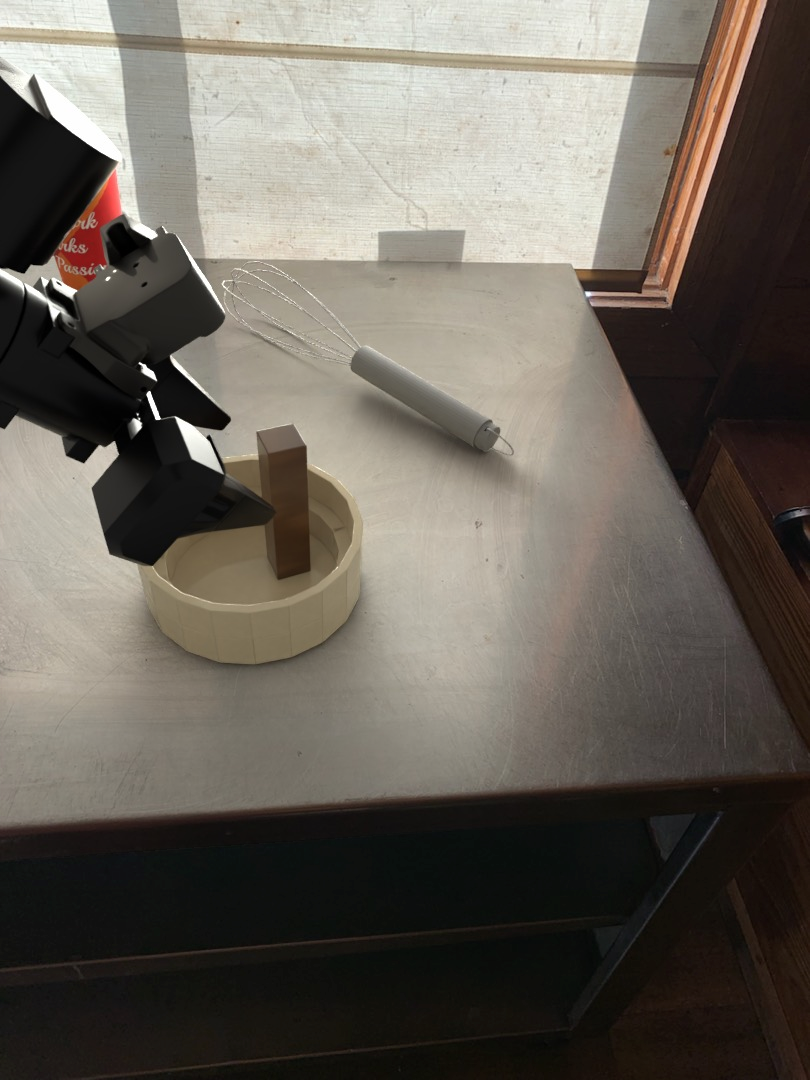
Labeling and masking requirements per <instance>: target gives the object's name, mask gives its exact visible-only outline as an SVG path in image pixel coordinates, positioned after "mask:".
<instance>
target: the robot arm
mask: <svg viewBox="0 0 810 1080" xmlns="http://www.w3.org/2000/svg"><path fill="white" fill-rule="evenodd" d="M105 135H106V134H105V133H104V132H103V131H102V130H101V129H100V128H99V127H98V126H97V125H96V124H95V123H94V122H93V121H91V119H90V118H88V117H87V115H85V114H84V113H83V112H82V111H81V110H80V109H78V108H77V107H76V106H75V105H74V104H73V103H72V102H71V101H69V100H68V98H66V97H65V96H64V95H62V94H61V93H60V92H59V91H58V90H56V89H55V88H54V87H53V86H52V85H50V84H49V83H48V82H46V81H45V80H44V79H42V77H40V76H39V75H38V74H36V73H33V74H32V75H29V74H27V73H26V72H25V71H23V69H21V68H19V67H18V66H17V65H14V64H13V63H11V62H10V61H9V60H7V59H5V58H3V57H1V56H0V429H2V430H6V428H7V427H8V426H9V425H10V423H11V422H12V421H13V420H14V419H15V417H18V418H20V419H22V420H25V421H27V422H28V423H31V424H33V425H35V426H38V427H40V428H42V429H45V430H47V431H49V432H50V433H53V434H55V435H58V436H60V437H61V442H62V446H63V450H64V454H65V457H67V458H70V459H72V460H74V461H77V462H78V463H81V464H83V465H84V464H85V463H86V462H87V461H88V460H89V458H90V457H91V456H92V455H93V453H95V451H96V450H97V449H98V448H99V446H100V447H103V448H106V447H109V446H110V445H111V444H115V447H116V450H117V453H118V455H117V456H116V458H115V459H113V461H112V462H111V463H110V465H109V466H108V467H107V468H106V469H105V471H104V472H103V473H102V475H101V476H100V477H98V479H97V480H96V482H95V483H94V484H93V485H92V486H91V491H92V496H93V499H94V504H95V508H96V511H97V515H98V518H99V523H100V526H101V530H102V534H103V538H104V541H105V545H106V548H107V551H108V554H109V555H110V556H113V557H116V558H118V559H122V560H125V561H128V562H130V563H133V564H136V565H137V564H139V565H142V566H153V565H154V564H155V563H156V562H157V561H158V560H159V559H160V558H161V556H162V555H163V554H164V553H165V552H166V551H167V550H168V549H169V548H170V546H171V545H172V544H173V543H174V542H175V541H176V540H177V539H179V538H183V537H187V536H191V535H196V534H201V533H207V532H214V531H222V530H230V529H238V528H246V527H254V526H262V525H266V524H267V523H268V522H269V521H270V520H271V519H272V518H273V517H274V516H275V514H276V511H275V509H274V507H273V506H271V505H270V504H269V503H268V502H266V501H265V500H264V499H262V498H261V497H260V496H259V495H257V494H256V493H254V492H253V491H251V490H250V489H248V488H247V487H246V486H244V485H243V484H241V483H240V482H238V481H237V480H235V479H234V478H233V477H231V476H230V475H228V474H227V473H226V469H225V465H224V463H223V460H222V458H223V457H222V456H221V453H220V452H219V450H218V447H217V445H216V443H215V440H214V437H213V436H212V435H211V434H210V433H209V434H207V436H206V437H205V436H204V435H203V434H202V432H200V431H199V429H197V428H201V429H207V430H213V431H220V432H221V431H223V430H225V429H226V427H227V426H229V424H230V423H231V422H232V418H231V415H230V414H229V413H228V411H226V410H225V408H224V407H222V406H221V405H220V404H219V402H218V401H216V400H215V399H214V398H213V396H211V394H209V392H208V391H207V390H205V389H204V388H203V387H202V385H201V384H199V382H197V380H195V378H193V376H191V374H189V372H188V371H187V370H186V369H185V368H184V367H183V366H182V365H181V364H180V363H179V362H178V361H177V360H176V359H175V358H174V357H173V356H172V355H173V354H175V353H176V352H178V351H180V350H181V349H182V348H184V347H186V346H188V345H189V344H191V343H192V342H194V341H195V340H197V339H198V338H201V337H203V338H206V337H208V336H211V335H212V334H214V333H216V332H217V330H219V329H220V328H221V327H222V325H224V322H225V320H226V316H227V315H226V311H225V309H224V307H223V306H222V304H221V302H220V301H219V299H218V296H217V295H216V293H215V291H214V290H213V287H212V286H211V284H210V283H209V281H208V280H207V278H206V276H205V275H204V274H203V272H202V271H201V269H200V267H199V266H198V265H197V263H196V261H195V260H194V259H193V257H192V255H191V254H190V253H189V251H188V250H187V248H186V246H184V243H183V242H182V240H181V239H180V238H179V237H178V235H177V234H176V233H175V232H168V231H167V229H165V227H164V226H163V225H160V226H159V227H157V228H156V229H155V231H154V230H153V229H151V228H150V227H148V226H146V225H144V224H143V223H141V222H139V221H138V220H136V219H134V218H132V217H130V216H128V215H127V214H125V213H122V214H121V215H120V216H118V217H116V218H115V219H113V220H112V221H110V222H108V223H107V224H105V225H104V226H102V227H101V228H100V233H101V239H102V244H103V250H104V255H105V259H106V262H107V268H105V269H104V268H103V267H102V266H101V265H98V266H96V267H95V268H94V271H95V274H96V277H95V278H94V279H93V280H92V281H90V282H89V283H88V284H86V285H85V286H83V287H82V288H81V289H79V290H78V291H77V290H75V289H72V288H70V287H68V286H67V285H65V284H63V281H60V280H58V279H56V278H55V277H50V279H49V280H47V279H45V278H44V277H42V276H39V278H37V280H36V282H35V283H34V285H33V286H31V285H29V284H28V283H26V282H24V281H21V280H20V279H18V278H17V277H15V276H13V275H11V274H10V273H9V272H7V271H4V270H11V271H12V272H16V273H19V274H22V275H25V274H26V273H27V272H28V270H29V268H30V267H31V266H36V267H37V266H38V267H43V266H45V265H47V264H48V263H49V262H50V260H51V259H52V258H53V257H54V253H55V252H56V251H57V249H58V248H59V246H60V245H61V244H62V242H63V241H64V240H65V238H66V237H67V235H68V234H69V233H70V231H71V230H72V228H73V227H74V226H75V224H76V223H77V222H78V220H79V219H80V217H81V216H82V215H83V213H84V212H85V211H86V209H87V208H88V206H89V205H90V204H91V202H92V201H93V200H94V198H95V197H96V195H97V194H98V193H99V191H100V190H101V188H102V187H103V186H104V184H105V183H106V182H107V180H108V179H109V177H110V176H111V175H112V173H113V172H114V171H115V169H116V170H117V168H118V166H119V165H120V164H121V163H122V161H123V155H122V153H121V152H120V151H119V149H118V148H117V147H116V146H115V144H114V143H113V142H112V141H111V140H110V138H109V137H108V136H107V135H106V136H107V137H108V138H107V137H106V136H105Z"/></svg>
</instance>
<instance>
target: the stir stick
mask: <svg viewBox="0 0 810 1080" xmlns="http://www.w3.org/2000/svg"><path fill="white" fill-rule="evenodd" d="M255 434H256V435H255V436H256V445H257V455H258V458H259V469H260V480H261V492H262V499H264V500H265V501H266V502H268V503H269V504H270V505H271V506H273V507H274V509H275V511H276V514H275V516H274V517H273V518H272V519H271V520H270V521H269V522H268V523H267V524H266V525H264V526H265V537H266V548H267V557H268V560H269V562H270V564H271V566H272V569H273V571H274V573H275V575H276V578H277V579H278V580H280V579H284V578H288V577H291V576H295V575H298V574H302V573H305V572H309V571H311V564H310V533H309V502H308V471H307V463H308V446H307V444H306V442H305V439H304V438H303V437H302V435H301V433H300V432H299V430H298V428H297V426H296V425H295V423H294V422H293V423H287V424H283V425H279V426H274V427H269V428H263V429H259V430H256V433H255Z"/></svg>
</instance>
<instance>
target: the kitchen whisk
mask: <svg viewBox="0 0 810 1080" xmlns="http://www.w3.org/2000/svg"><path fill="white" fill-rule="evenodd" d="M249 264H260V265H264V266H267V267H270V268H272V269H274V270H276V271H277V272H279V273H277V272H275V271H272V270H264V269H255V270H249V271H247V270H244V269H242V268H244V267H246V266H247V265H249ZM235 271H237V272H236V274H235V276H234V272H235ZM239 272H242V274H240V275H239ZM254 272H263V273H271V274H274V275H276V276H279V277H281V278H284V279H286V280H288V281H289V282H291V283H293V284H295V285H296V286H298V287H299V288H300V289H302V290H303V291H304V292H305V293H306V294H307V295H309V296H310V297H311V299H313V300H314V301H315V302H316V303H317V304H318V305H319V306H320V307H321V308H322V309H323V310H324V311H325V312H326V313H327V314H328V315H329V316H330V317H331V318H332V319H333V320H334V321H335V323H337V325H338V326H339V328H341V329H342V331H344V333H346V335H347V336H348V337H349V338H350V339H351V341H352V342H353V343H354V344H355V345H356V346H357V348H358V349H355V347H353V346H352V345H350V343H348V342H347V341H346V340H344V339H343V338H342V337H341V336H339V335H338V334H337V333H335V332H334V331H333V330H332V329H330V328H329V327H327V326H326V325H325V324H324V323H323V322H321V321H320V320H319V319H317V318H316V317H315V316H313V315H312V314H311V313H309V312H308V311H307V310H306V309H304V308H303V307H302V306H300V305H299V304H298V303H296V302H295V301H294V300H292V299H291V298H289V297H288V296H287V295H285V294H284V293H282V292H280V291H279V290H278V289H277V288H275V287H273V286H272V285H270V283H268V282H266V281H264V280H262V279H261V278H259V276H256V275H254ZM252 273H253V274H252ZM246 274H247V275H249V276H252V277H253V278H255V279H257V280H258V281H260V282H262V283H263V284H265V285H266V286H268V287H269V288H271V289H272V290H274V291H276V292H277V293H278V294H280V295H281V296H280V295H278V294H276V293H274V292H273V291H271V290H268V289H266V288H263V287H261V286H259V285H256V284H252V283H249V282H246V281H241V280H238V279H241V278H242V277H243V276H245V275H246ZM230 275H231V278H232V279H230V280H229V279H227V280H223V281H222V283H221V286H222V287H223V289H224V290H225V291H224V294H223V301H222V302H223V304H224V306H225V309H226V310H227V312H228V314H229V315H230V316H232V317H233V318H234V319H235V320H236V321H237V322H238V324H239V323H240V324H241V325H242V326H244V327H246V328H247V329H249V330H251V331H252V332H253V333H255V334H257V335H259V337H261V338H262V339H265V340H266V341H268V342H270V343H273V344H275V345H277V346H279V347H281V348H284V349H287V350H289V351H292V352H295V353H297V354H301V355H304V356H306V357H310V358H313V359H317V360H322V361H325V362H330V363H335V364H340V365H345V366H349V367H350V371H351V372H352V373H354V374H355V375H357V376H358V377H360V378H362V379H364V381H366V382H368V383H370V384H371V385H373V386H375V387H376V388H377V389H379V390H381V391H382V392H384V393H386V394H387V395H389V396H390V397H392V398H393V399H395V400H397V401H399V402H400V403H402V404H403V405H405V406H407V408H410V409H412V410H413V411H415V412H416V413H418V414H420V415H421V416H423V417H424V418H426V419H427V420H429V421H431V422H432V423H434V424H436V425H437V426H438V427H440V428H442V429H444V430H445V431H446V432H448V433H450V434H451V435H453V436H454V437H457V438H458V439H460V440H461V441H463V442H464V443H466V444H468V445H469V446H471V447H473V448H474V449H480V450H482V451H483V452H485V453H486V452H488V451H490V450H493V451H495V452H498V453H500V454H502V455H505V456H509V457H510V456H513V455H514V454H515V450H514V449H513V447H512V445H511V444H510V443H509V442H508V441H507V440H506V439H504V438H503V437H502V435H500V434H501V427H500V426H498V425H496V424H495V423H494V422H493V420H492V419H491V418H489V417H488V416H486V415H484V414H482V413H481V412H479V411H478V410H476V409H474V408H472V407H471V406H469V405H468V404H466V403H464V402H462V401H461V400H459V399H457V398H456V397H454V396H452V395H450V393H448V392H446V391H444V390H442V389H441V388H439V387H438V386H436V385H434V384H432V383H431V382H430V381H427V380H426V379H424V378H422V377H420V376H419V375H417V374H416V373H414V372H413V371H411V370H409V369H407V368H406V367H404V366H402V365H401V364H400V363H397V361H394V360H393V359H391V358H389V357H388V356H387V355H384V354H383V353H380V352H379V351H377V350H376V349H374V348H372V347H370V346H369V345H366V344H365V345H362V346H361V345H360V343H359V342H358V340H356V338H355V337H354V336H353V335H352V333H351V332H350V331H349V330H348V329H347V328H346V327H345V325H344V324H343V323H342V322H341V320H339V318H338V317H336V316H335V315H334V313H332V312H331V311H330V310H329V308H327V306H325V305H324V304H323V303H322V301H320V300H319V299H318V298H317V297H315V296H314V295H313V294H312V293H311V292H309V291H308V290H307V289H306V288H304V287H303V286H302V285H301V284H300V283H299V282H297V281H296V280H295V279H293V278H292V277H291V276H289V275H288V273H287V274H286V273H285V272H283V271H282V270H280V269H279V268H277V267H275V266H273V265H271V264H268V263H265V262H262V261H260V260H258V261H257V260H256V261H247V262H246V263H244V264H243V265H242V266H240V267H239V268H233V269H232V270H231V272H230ZM238 275H239V276H238ZM225 283H230V284H229V285H228V286H227V287H226V286H225V285H224V284H225ZM237 283H239V284H244V285H248V286H251V287H255V288H258V289H260V290H263V291H265V292H266V293H270V294H271V295H273V296H275V297H276V298H279V299H280V300H283V301H284V302H286V303H288V304H290V305H291V306H292V307H295V308H296V309H298V310H299V311H301V312H302V313H304V314H305V315H307V316H308V317H310V318H311V319H313V320H314V321H315V322H317V324H320V325H321V326H322V327H324V328H325V329H326V330H327V331H329V332H330V333H331V334H332V335H334V336H335V337H336V338H337V339H339V340H340V341H341V342H342V343H344V344H345V345H346V346H347V347H348V348H350V349H351V350H352V351H353V352H355V353H354V354H353V356H352V355H349V354H347V353H345V352H343V351H340V350H339V349H337V348H334V347H333V346H331V345H328V344H326V343H324V342H322V341H320V340H318V339H316V338H314V337H312V336H309V335H308V334H306V333H304V332H302V331H300V330H298V329H296V328H294V327H293V326H290V325H288V324H286V323H284V322H282V321H281V320H279V319H277V318H275V317H273V316H272V315H270V314H267V313H265V312H264V311H262V310H260V309H259V308H256V307H255V306H254V305H253V304H252V303H251V302H250V301H249V300H248V298H247V297H246V296H245V295H244V293H242V290H241V289H240V287H239V286H238V284H237ZM231 286H232V289H231V291H230V290H229V289H230V287H231ZM235 287H236V288H237V290H238V292H239V293H240V295H241V296H242V297H243V298H244V299H242V298H240V297H238V296H237V295H236V294H234V291H235V290H234V289H235ZM227 292H228V293H229V294H230V295H231V300H232V304H233V308H234V311H235V313H236V314H237V315H238V317H239V318H240V320H241V321H240V320H239V319H238V317H236V316H235V315H234V314H233V313H231V311H230V310H229V308H228V306H227V304H226V295H227ZM234 298H236V299H237V300H239V301H240V302H242V303H243V304H245V305H246V306H249V307H250V308H252V309H253V310H256V311H257V312H258V313H259V314H260V315H261V316H263V317H264V318H265V319H267V320H268V321H269V322H271V323H272V324H273V325H275V326H277V327H279V328H281V329H282V330H284V331H285V332H287V333H288V334H291V335H293V336H295V337H296V338H298V339H300V340H302V341H304V342H306V343H308V344H310V345H311V346H315V347H317V348H319V349H321V350H323V351H326V352H328V353H330V354H333V355H336V356H338V357H340V358H342V359H345V360H342V359H337V358H335V357H330V356H326V355H322V354H319V353H316V352H313V351H309V350H306V349H303V348H300V347H297V346H294V345H290V344H288V343H285V342H282V341H281V340H277V339H275V338H272V337H270V336H267V335H266V334H263V333H262V332H260V331H257V330H255V329H253V328H252V327H251V325H249V323H247V322H245V321H244V319H243V317H242V316H241V314H240V313H239V312H238V310H237V307H236V303H235V299H234ZM276 322H277V323H276ZM278 323H280V324H281V325H283V326H285V327H287V328H289V329H290V330H293V331H295V332H297V333H299V334H301V335H303V336H305V337H307V338H308V339H311V340H313V341H315V342H316V343H318V344H321V345H323V346H324V347H322V346H320V345H318V344H315V343H313V342H311V341H309V340H307V339H305V338H303V337H302V336H299V335H297V334H295V333H293V332H292V331H290V330H288V329H286V328H285V327H283V326H281V325H279V324H278ZM325 347H327V348H329V349H331V350H329V349H327V348H325ZM298 350H299V351H298ZM332 350H333V351H336V352H338V353H336V352H333V351H332ZM346 360H348V361H346ZM499 439H501V440H502V441H503V442H504V443H505V444H506V445H507V446H508V447H509V449H510V450H511V453H507V452H505V451H501V450H500V449H497V448H495V447H494V445H496V443H497V441H498V440H499Z"/></svg>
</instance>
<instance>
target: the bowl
mask: <svg viewBox="0 0 810 1080" xmlns="http://www.w3.org/2000/svg"><path fill="white" fill-rule="evenodd" d="M221 458H222V460H223V463H224V465H225V469H226V473H227V474H228V475H230V476H231V477H233V478H234V479H235V480H237V481H238V482H240V483H241V484H243V485H244V486H246V487H247V488H248V489H250V490H251V491H253V492H254V493H256V494H257V495H259V496H260V497H261V498H262V492H261V480H260V469H259V458H258V454H242V455H235V456H227V457H221ZM307 471H308V502H309V533H310V564H311V571H309V572H305V573H302V574H298V575H295V576H291V577H288V578H284V579H280V580H278V579H277V578H276V575H275V573H274V571H273V569H272V566H271V564H270V562H269V560H268V557H267V548H266V537H265V526H264V525H262V526H254V527H246V528H238V529H230V530H222V531H214V532H207V533H201V534H196V535H191V536H187V537H183V538H179V539H177V540H176V541H175V542H174V543H173V544H172V545H171V546H170V548H169V549H168V550H167V551H166V552H165V553H164V554H163V555H162V556H161V558H160V559H159V560H158V561H157V562H156V563H155V564H154V565H153V566H142V565H139V564H136V566H137V568H138V572H139V576H140V580H141V585H142V588H143V592H144V596H145V600H146V604H147V607H148V610H149V612H150V614H151V616H152V617H153V619H154V620H155V621H154V622H155V623H156V624H157V626H158V627H159V630H160V631H161V633H163V634H164V635H165V636H166V637H168V638H169V639H171V640H172V641H173V642H174V643H176V644H177V645H178V646H179V647H181V648H182V649H183V650H184V651H187V652H188V653H191V654H194V655H197V656H200V657H202V658H205V659H208V660H211V661H214V662H217V663H221V664H223V663H225V664H240V665H258V664H259V665H260V664H264V663H270V662H276V661H279V660H284V659H291V658H293V657H296V656H298V655H300V654H302V653H304V652H306V651H308V650H311V649H312V648H314V647H316V646H318V645H320V644H323V643H324V642H325V641H326V640H328V638H330V637H331V636H332V635H333V634H334V633H335V632H337V630H338V629H339V628H340V627H342V626H343V625H344V624H345V623H346V622H347V621H348V619H349V617H350V616H351V613H352V611H353V609H354V608H355V606H356V604H357V602H358V600H359V598H360V594H361V593H360V592H361V583H362V582H361V581H362V568H363V567H362V565H363V540H364V539H363V538H364V537H363V536H364V519H363V516H362V513H361V511H360V509H359V505H358V503H357V501H356V498H355V497H354V496H353V495H352V493H351V492H349V491H350V490H348V489H347V488H346V487H345V486H344V484H342V482H341V481H340V480H339V479H338V478H337V477H335V476H333V475H331V474H330V473H328V472H327V471H324V470H322V469H321V468H320V467H317V466H316V465H314V464H311V463H308V462H307Z"/></svg>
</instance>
